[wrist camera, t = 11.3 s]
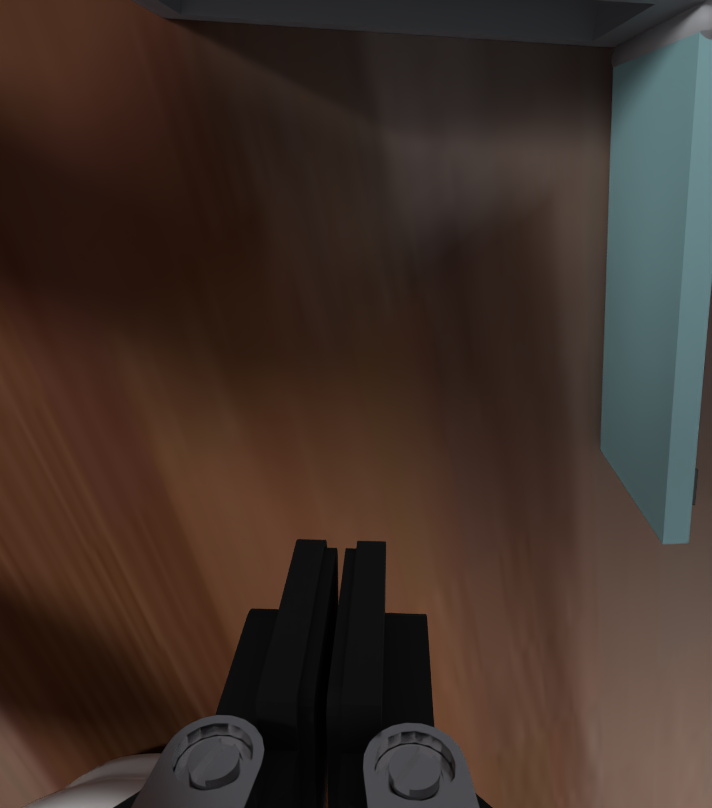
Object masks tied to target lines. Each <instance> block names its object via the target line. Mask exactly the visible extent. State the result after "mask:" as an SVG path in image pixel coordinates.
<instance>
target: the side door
mask: <svg viewBox="0 0 712 808" xmlns="http://www.w3.org/2000/svg"><path fill="white" fill-rule="evenodd" d="M611 63H612V66H613V89H612V118H611V148H610V178H609V207H608V237H607V267H606V296H605V326H604V356H603V385H602V415H601V444H600V450H601V452H602V453H603V455H604V456H605V458H606V459H607V461H608V462H609V464H610V465H611V467H612V468H613V470H614V471H615V473H616V474H617V476H618V477H619V479H620V480H621V482H622V483H623V485H624V486H625V488H626V490H627V491H628V493H629V494H630V496H631V497H632V499H633V500H634V502H635V503H636V505H637V506H638V508H639V509H640V511H641V512H642V514H643V515H644V517H645V518H646V520H647V521H648V523H649V524H650V526H651V527H652V529H653V530H654V532H655V533H656V535H657V537H658V538H659V540H660V541H661V543H662V544H684V543H689V534H690V522H691V511H692V505H695V499H696V488H697V477H698V470H697V469H696V468H695V465H696V454H697V442H698V431H699V420H700V408H701V397H702V385H703V374H704V362H705V351H706V340H707V328H708V317H709V305H710V294H711V282H712V0H706V1H705V2H703V3H701V4H699V5H697V6H695V7H693V8H691V9H689V10H687V11H685V12H683V13H681V14H679V15H677V16H675V17H673V18H671V19H669V20H667V21H665V22H663V23H661V24H659V25H657V26H655V27H653V28H651V29H649V30H647V31H645V32H643V33H641V34H639V35H638V36H636V37H634V38H632V39H630V40H628V41H626V42H624V43H622V44H620V45H618V46H617V47H616V48H615V50H614V51H613V53H612V57H611Z"/></svg>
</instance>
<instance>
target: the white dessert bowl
mask: <svg viewBox="0 0 712 808" xmlns="http://www.w3.org/2000/svg"><path fill="white" fill-rule="evenodd" d="M160 756H161V754H160V753H154V754H139V755H131V756H127V757H122V758H118V759H115V760H111V761H108V762H106V763H104V764H101V765H99V766H97V767H95V768H93V769H91V770H90V771H88V772H87V773H85V774H84V775H82V776H81V777H79V778H78V779H76V780H75V781H73V782H72V783H70V784H69V785H67V786H66V787H65V788H64V789H62V790H60V791H57V792H54V793H51V794H49V795H47V796H44V797H42V798H39V799H37V800H35V801H33V802H31V803H29V804H27V805H25V806H23V807H21V808H113V807H115V806H116V805H118V804H120V803H121V802H123V801H124V800H126V799H127V798H129V797H131V796H132V795H134V794H135V793H137V792H139V791H140V790H141V789H142V787H143V785H144V784H145V782H146V780H147V778H148V777H149V775H150V773H151V771H152V770H153V768H154V766H155V764H156V763H157V761H158V759H159V757H160Z"/></svg>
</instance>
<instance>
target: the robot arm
mask: <svg viewBox="0 0 712 808" xmlns="http://www.w3.org/2000/svg"><path fill="white" fill-rule="evenodd" d="M385 579H386V542H380V541H357V549H352V548H346V550H345V558H344V566H343V574H342V582H341V589H340V597H339V605H338V552H337V548H327V542H326V540H306V539H298V540H297V541H296V545H295V549H294V552H293V556H292V560H291V564H290V568H289V572H288V576H287V580H286V584H285V588H284V591H283V595H282V599H281V603H280V607H279V609H251V610H250V611H249V613H248V616H247V618H246V622H245V625H244V628H243V631H242V634H241V637H240V640H239V643H238V646H237V650H236V653H235V656H234V659H233V662H232V665H231V668H230V671H229V675H228V678H227V681H226V684H225V687H224V690H223V693H222V696H221V699H220V703H219V706H218V709H217V712H216V715H215V716H210V717H205V718H201V719H199V720H197V721H195V722H193V723H190V724H188V725H187V726H185V727H184V728H183V729H181V730H180V731H179V732H178V733H176V734H175V735H174V736H173V738H172V739H171V740H170V742H169V743H168V744H167V745H166V747H165V749H164V750H163V752H162V754H161V756H160V757H159V759H158V761H157V763H156V764H155V766H154V768H153V770H152V771H151V773H150V775H149V777H148V778H147V780H146V782H145V784H144V785H143V787H142V789H141V790H140V791H139V792H137V793H135V794H134V795H132V796H131V797H129V798H127V799H126V800H124V801H123V802H121V803H120V804H118V805H116V806H115V807H113V808H325V802H326V792H327V783H328V804H329V808H492V807H491V806H490V805H489V804H487V803H486V802H485V801H484V800H483V799H482V798H480V797H479V796H478V795H477V794H476V793H475V790H474V787H473V783H472V780H471V776H470V773H469V770H468V766H467V763H466V759H465V757H464V755H463V753H462V751H461V749H460V747H459V746H458V745H457V744H456V743H455V741H454V740H453V739H452V738H451V737H450V736H449V735H447V734H445V733H444V732H442V731H440V730H439V729H437V728H435V727H434V717H433V702H432V686H431V671H430V656H429V640H428V625H427V615H426V614H402V613H385Z"/></svg>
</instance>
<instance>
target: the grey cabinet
mask: <svg viewBox="0 0 712 808" xmlns="http://www.w3.org/2000/svg"><path fill="white" fill-rule="evenodd" d="M132 1H133V2H135V3H137V4H139V5H141V6H142V7H144V8H146V9H148V10H149V11H151V12H153V13H155V14H157V15H158V16H160V17H162V18H170V19H185V20H200V21H215V22H231V23H246V24H261V25H276V26H292V27H307V28H322V29H337V30H352V31H368V32H383V33H398V34H413V35H429V36H444V37H459V38H474V39H490V40H505V41H520V42H535V43H550V44H566V45H581V46H596V47H611V48H613V47H615V46H617V45H619V44H621V43H623V42H625V41H627V40H629V39H631V38H633V37H635V36H637V35H639V34H641V33H643V32H645V31H647V30H649V29H651V28H653V27H655V26H657V25H659V24H661V23H663V22H665V21H666V20H668V19H670V18H672V17H674V16H676V15H678V14H680V13H682V12H684V11H686V10H688V9H690V8H692V7H694V6H696V5H698V4H700V3H702V2H704V1H706V0H132Z"/></svg>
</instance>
